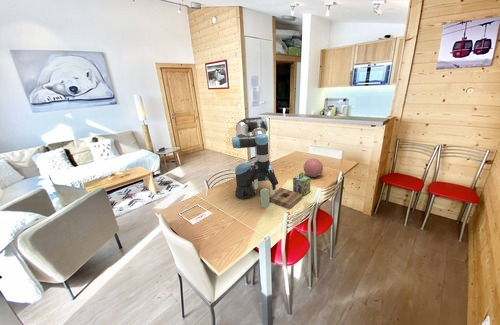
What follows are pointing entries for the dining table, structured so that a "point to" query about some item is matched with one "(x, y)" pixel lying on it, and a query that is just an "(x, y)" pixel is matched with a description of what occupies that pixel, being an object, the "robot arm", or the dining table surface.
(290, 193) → the socket board
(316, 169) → the pink ball
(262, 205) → the peg
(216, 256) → the dining table surface
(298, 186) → the chalk box
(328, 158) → the dining table surface
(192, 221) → the photo frame
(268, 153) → the robot arm
